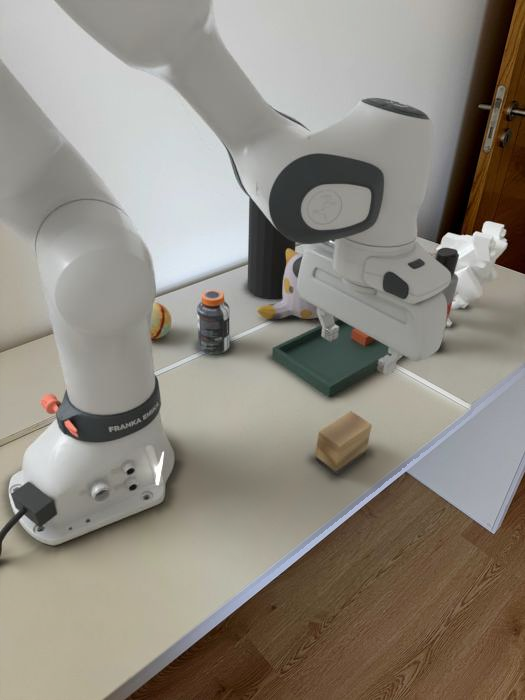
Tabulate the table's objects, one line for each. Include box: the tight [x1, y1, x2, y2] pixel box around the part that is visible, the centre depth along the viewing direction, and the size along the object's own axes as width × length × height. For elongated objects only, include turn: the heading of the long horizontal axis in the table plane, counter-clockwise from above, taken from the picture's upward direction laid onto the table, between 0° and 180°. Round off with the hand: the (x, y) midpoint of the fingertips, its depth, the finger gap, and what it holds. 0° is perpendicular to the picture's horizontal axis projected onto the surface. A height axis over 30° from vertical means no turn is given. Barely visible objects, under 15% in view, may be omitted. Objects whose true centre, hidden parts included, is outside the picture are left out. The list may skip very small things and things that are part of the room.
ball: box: [151, 302, 172, 340], centre depth 103 cm, size 7×7×7 cm
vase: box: [247, 196, 297, 300], centre depth 115 cm, size 10×10×30 cm
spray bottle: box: [434, 248, 459, 336], centre depth 101 cm, size 6×6×20 cm
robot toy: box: [435, 220, 509, 328], centre depth 111 cm, size 19×14×20 cm
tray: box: [271, 317, 392, 398], centre depth 102 cm, size 22×15×2 cm
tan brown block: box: [314, 410, 373, 476], centre depth 79 cm, size 4×7×6 cm, turn 131°
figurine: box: [256, 248, 319, 320], centre depth 111 cm, size 12×17×15 cm
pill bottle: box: [196, 289, 231, 355], centre depth 100 cm, size 6×6×11 cm
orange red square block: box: [351, 328, 376, 346], centre depth 105 cm, size 4×4×2 cm
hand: (356, 353), depth 69 cm, fingers open, 8 cm apart
